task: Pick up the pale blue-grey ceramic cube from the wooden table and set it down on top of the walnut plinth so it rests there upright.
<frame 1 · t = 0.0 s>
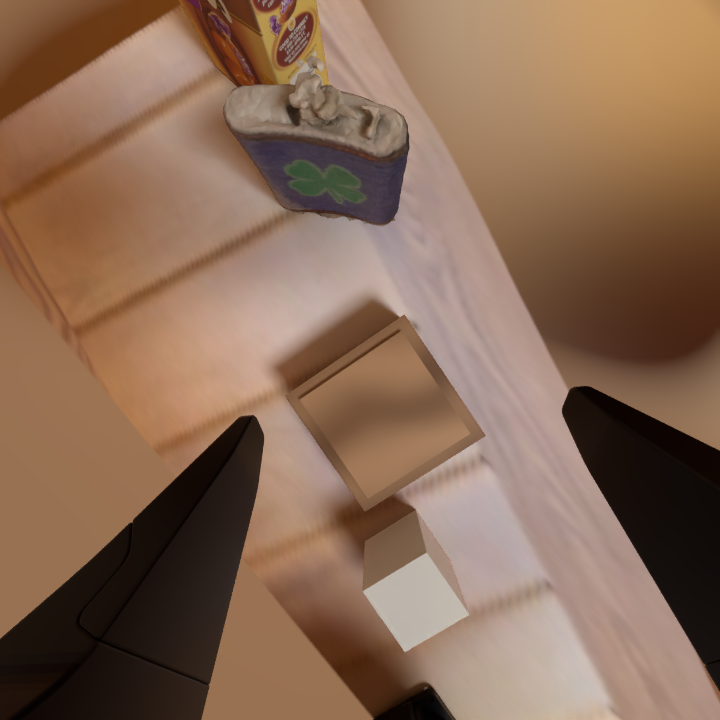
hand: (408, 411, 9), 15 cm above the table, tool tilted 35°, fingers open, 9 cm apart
flask: (338, 203, 23), on the table
candy box: (275, 84, 23), on the table
walnut plinth: (382, 406, 24), on the table
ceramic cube: (407, 549, 25), on the table
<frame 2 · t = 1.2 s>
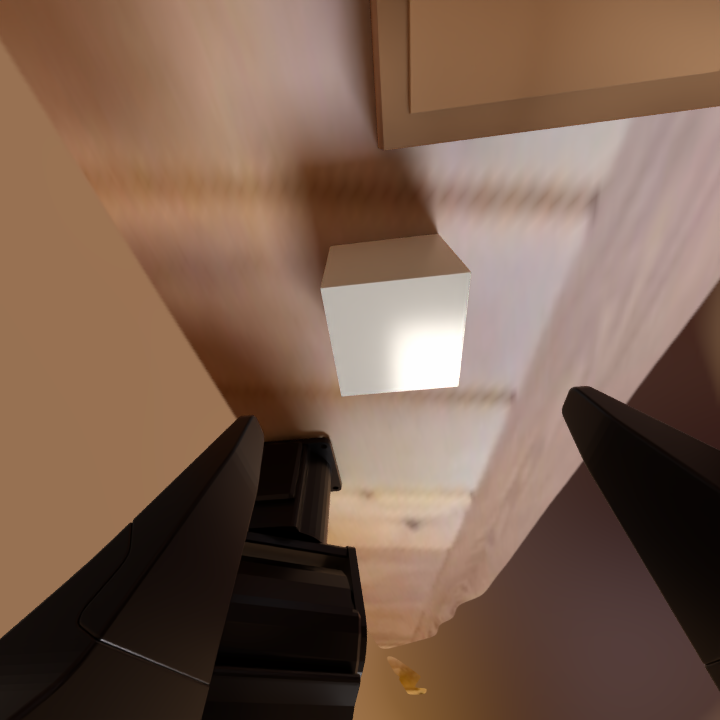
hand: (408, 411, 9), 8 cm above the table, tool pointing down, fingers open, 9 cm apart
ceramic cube: (386, 289, 15), on the table
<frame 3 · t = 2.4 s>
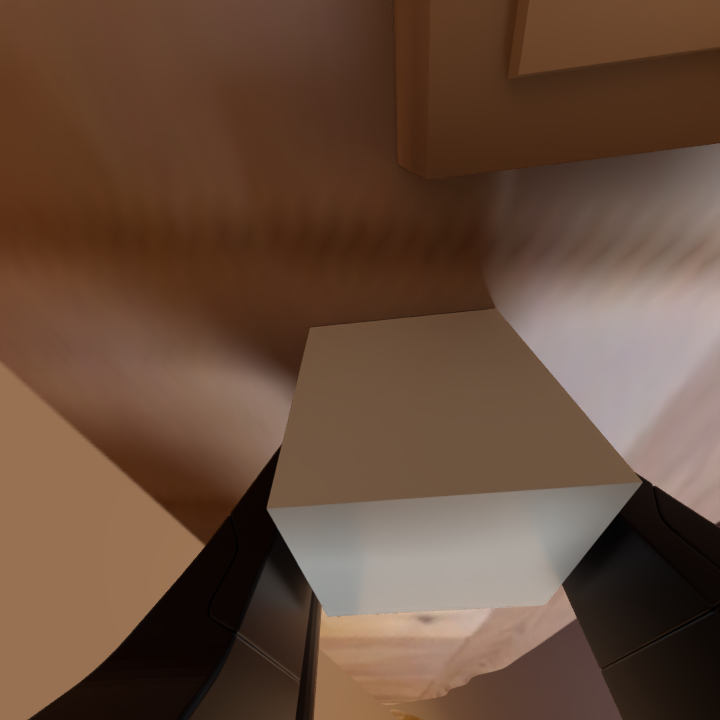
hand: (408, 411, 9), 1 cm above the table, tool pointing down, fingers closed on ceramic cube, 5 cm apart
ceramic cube: (403, 387, 10), on the table, touching gripper
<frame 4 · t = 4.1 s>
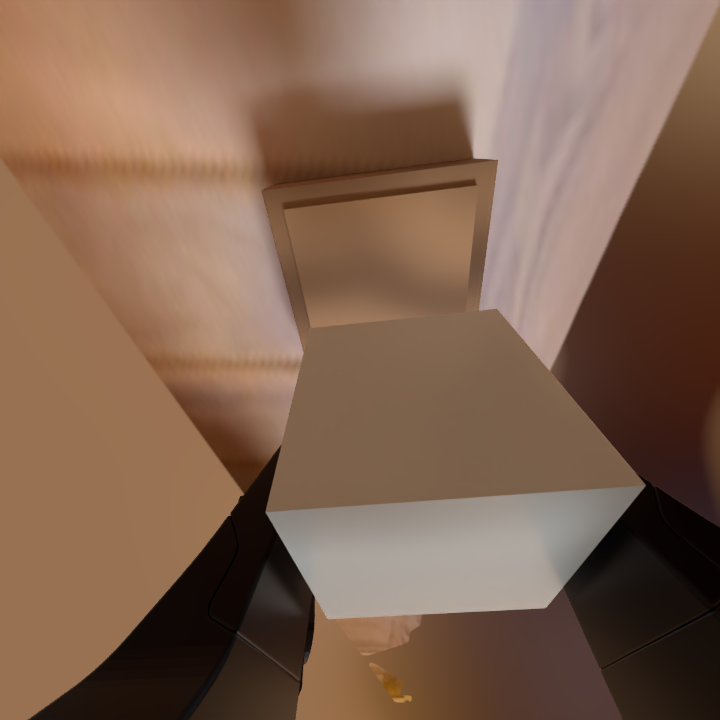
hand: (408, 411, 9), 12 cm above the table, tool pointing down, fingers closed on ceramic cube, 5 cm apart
walnut plinth: (380, 269, 18), on the table
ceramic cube: (403, 388, 9), point 11 cm above the table, touching gripper
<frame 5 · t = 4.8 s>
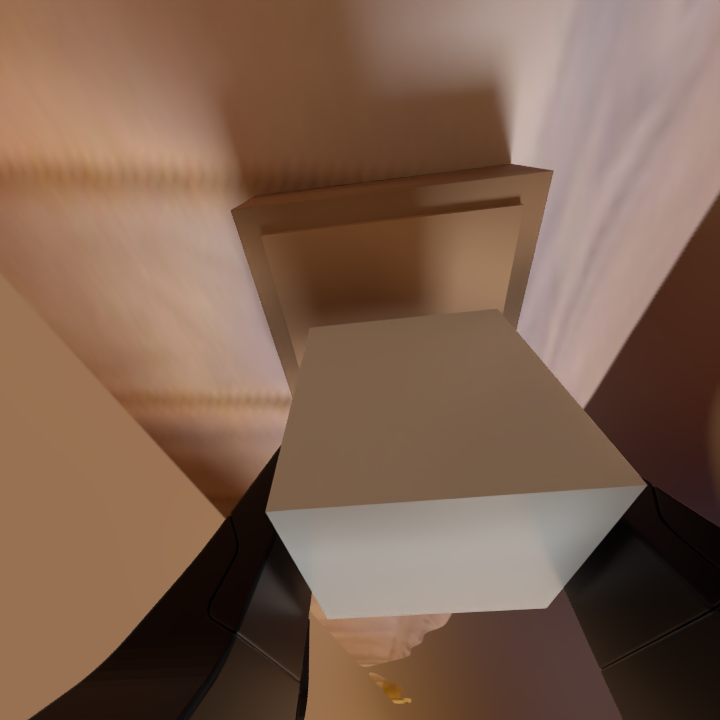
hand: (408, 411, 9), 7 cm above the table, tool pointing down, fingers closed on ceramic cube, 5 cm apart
walnut plinth: (387, 298, 15), on the table
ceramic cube: (403, 388, 9), point 6 cm above the table, touching gripper
when the fingers open (5 cm above the table, at t = 5.6 s): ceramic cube stays where it is, resting on walnut plinth.
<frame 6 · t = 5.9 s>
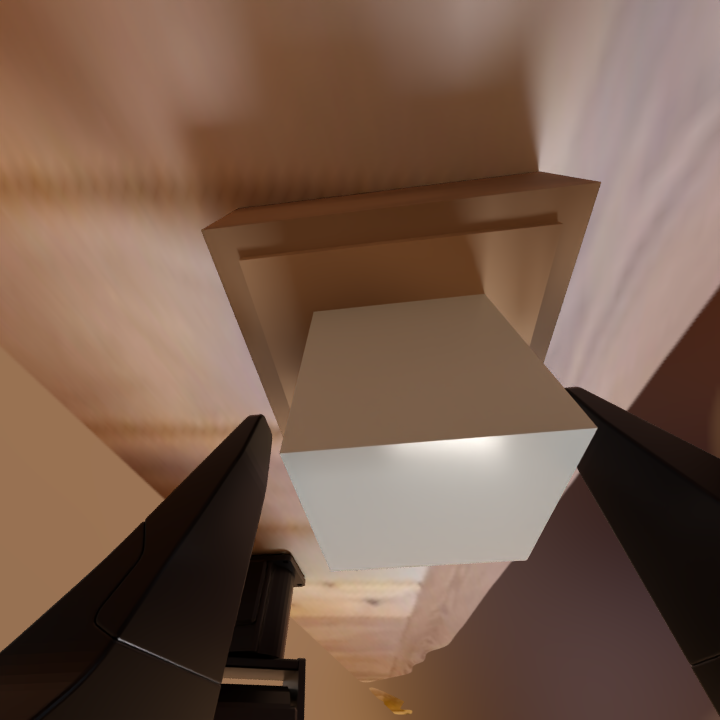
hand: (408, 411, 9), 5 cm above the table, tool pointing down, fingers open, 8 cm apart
walnut plinth: (391, 322, 13), on the table
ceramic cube: (400, 369, 10), point 3 cm above the table, touching walnut plinth
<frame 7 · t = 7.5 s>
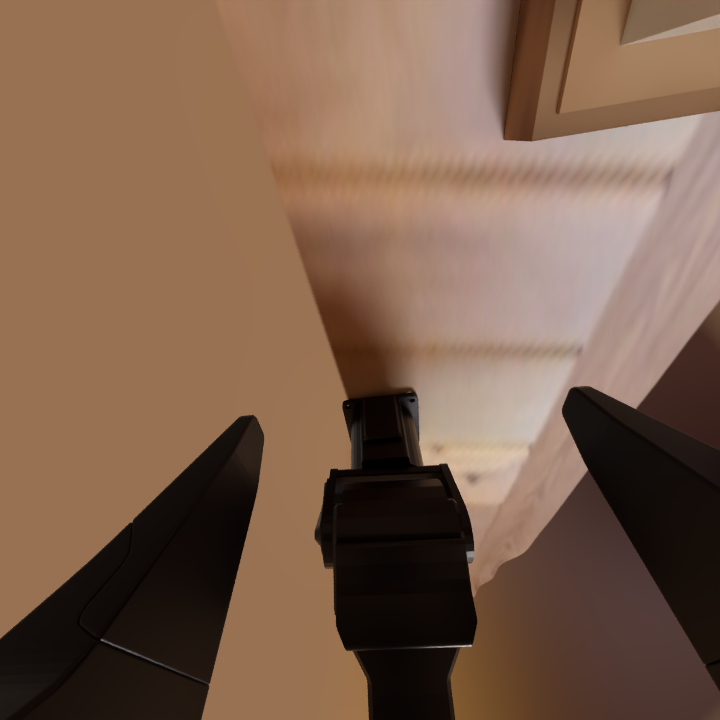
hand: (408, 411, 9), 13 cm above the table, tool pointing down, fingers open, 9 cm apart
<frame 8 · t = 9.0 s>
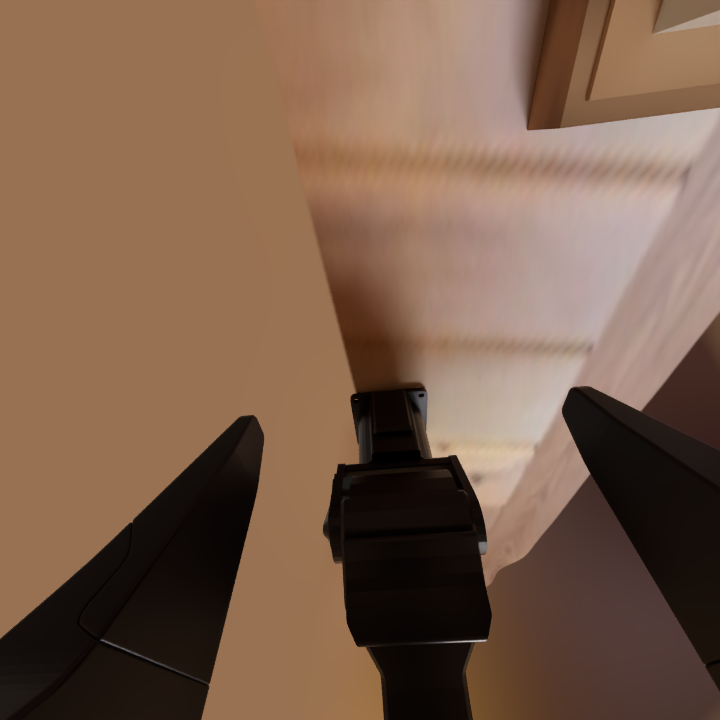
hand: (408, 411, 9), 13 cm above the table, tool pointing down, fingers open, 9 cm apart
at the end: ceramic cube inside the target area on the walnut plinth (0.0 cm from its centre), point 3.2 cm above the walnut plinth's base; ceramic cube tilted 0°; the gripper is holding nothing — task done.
